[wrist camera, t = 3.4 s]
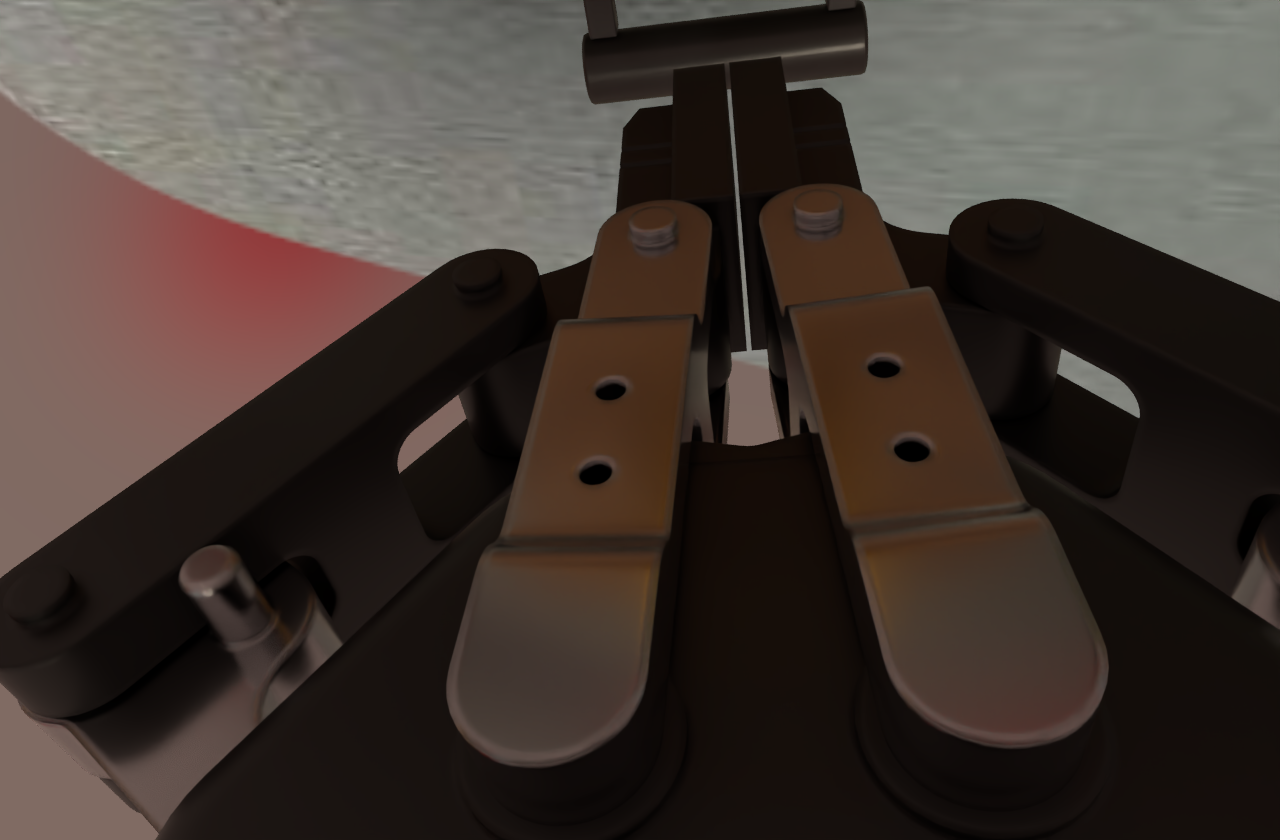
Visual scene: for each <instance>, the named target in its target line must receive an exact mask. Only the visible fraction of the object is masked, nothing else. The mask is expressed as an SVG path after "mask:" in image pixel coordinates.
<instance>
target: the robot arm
mask: <svg viewBox="0 0 1280 840" xmlns="http://www.w3.org/2000/svg"><path fill="white" fill-rule="evenodd" d="M729 67H730V80H731V93H732V106H733V119H734V132H735V145H736V158H737V171H738V184H739V197H740V209H741V222H742V234H743V247H744V259H745V271H746V284H747V296H748V309H749V321H750V334H751V346H752V350H761V349H767V352H768V362H769V376H770V390H771V399H772V403H773V408H774V413H775V418H776V423H777V427H778V432H779V437H780V439H779V440H775V441H772V442H768V443H764V444H760V445H755V446H738V445H728V444H727V436H728V420H729V403H730V396H729V385H728V378H729V375H730V372H731V367H732V362H731V352H741V351H747V348H746V334H745V320H744V306H743V292H742V278H741V264H740V250H739V236H738V223H737V209H736V195H735V183H734V170H733V158H732V146H731V134H730V122H729V110H728V98H727V87H726V75H725V64H724V63H721V64H712V65H704V66H696V67H687V68H679V69H673V105H667V106H658V107H649V108H641V109H639V110H638V111H637V112H636V114H635V115H634V116H633V117H632V118H631V120H630V121H629V122H628V123H627V124H626V126H625V127H624V128H623V138H622V152H621V161H620V167H621V169H620V172H619V184H618V195H617V207H616V213H615V214H614V215H613V216H611V217H610V218H609V219H608V220H607V221H606V222H605V223H604V224H603V225H602V227H601V228H600V230H599V233H598V236H597V240H596V244H595V248H594V253H593V255H592V256H590V257H589V258H587V259H585V260H583V261H581V262H579V263H577V264H574V265H572V266H569V267H566V268H563V269H560V270H556V271H553V272H550V273H546V274H543V275H540V276H539V272H538V269H537V266H536V264H535V263H534V261H533V260H532V259H531V258H529V257H528V256H526V255H524V254H522V253H520V252H517V251H514V250H507V249H486V250H480V251H475V252H472V253H468V254H465V255H462V256H459V257H457V258H455V259H453V260H451V261H449V262H447V263H446V264H444V265H442V266H441V267H439V268H438V269H437V270H435V271H434V272H432V273H431V274H429V275H428V276H427V277H425V278H424V279H422V280H421V281H420V282H418V283H417V284H415V285H414V286H413V287H411V288H410V289H408V290H407V291H405V292H404V293H403V294H401V295H400V296H398V297H397V298H395V299H394V300H393V301H391V302H390V303H389V304H387V305H386V306H384V307H383V308H381V309H380V310H379V311H377V312H376V313H374V314H373V315H371V316H370V317H369V318H367V319H366V320H364V321H363V322H361V323H360V324H359V325H357V326H356V327H354V328H353V329H352V330H350V331H349V332H347V333H346V334H345V335H343V336H342V337H340V338H339V339H338V340H336V341H335V342H333V343H332V344H330V345H329V346H327V347H326V348H325V349H323V350H322V351H320V352H319V353H318V354H316V355H315V356H313V357H312V358H310V359H309V360H308V361H306V362H305V363H303V364H302V365H301V366H299V367H298V368H296V369H295V370H294V371H292V372H291V373H289V374H288V375H286V376H285V377H284V378H282V379H281V380H279V381H278V382H276V383H275V384H274V385H272V386H271V387H269V388H268V389H267V390H265V391H264V392H262V393H261V394H259V395H258V396H257V397H255V398H254V399H252V400H251V401H250V402H248V403H247V404H245V405H244V406H242V407H241V408H240V409H238V410H237V411H235V412H234V413H233V414H231V415H230V416H228V417H227V418H225V419H224V420H223V421H221V422H220V423H218V424H217V425H216V426H214V427H213V428H211V429H210V430H208V431H207V432H206V433H204V434H203V435H201V436H200V437H198V438H197V439H196V440H194V441H193V442H191V443H190V444H189V445H187V446H186V447H184V448H183V449H182V450H180V451H179V452H177V453H176V454H175V455H173V456H172V457H170V458H169V459H167V460H166V461H164V462H163V463H162V464H160V465H159V466H158V467H156V468H155V469H153V470H152V471H150V472H149V473H147V474H146V475H145V476H143V477H142V478H141V479H139V480H138V481H136V482H135V483H133V484H132V485H130V486H129V487H128V488H126V489H125V490H123V491H122V492H121V493H119V494H118V495H116V496H115V497H113V498H112V499H111V500H110V501H108V502H107V503H105V504H104V505H102V506H101V507H99V508H98V509H96V510H95V511H94V512H92V513H91V514H89V515H88V516H87V517H85V518H84V519H82V520H81V521H79V522H78V523H77V524H75V525H74V526H72V527H71V528H70V529H68V530H67V531H65V532H64V533H63V534H61V535H60V536H58V537H57V538H55V539H54V540H53V541H51V542H50V543H48V544H47V545H45V546H44V547H43V548H41V549H40V550H39V551H37V552H36V553H34V554H33V555H31V556H30V557H29V558H27V559H26V560H24V561H23V562H21V563H20V564H19V565H17V566H16V567H14V568H13V569H12V570H11V571H9V572H8V573H6V574H5V575H4V576H3V577H2V578H0V683H1V684H2V685H3V686H4V687H5V688H6V689H7V690H9V692H11V693H12V694H13V695H14V696H15V697H16V698H17V699H18V702H19V705H20V707H21V709H22V710H23V711H24V712H25V714H26V715H27V716H28V717H29V718H31V719H32V720H33V721H34V722H35V723H36V724H37V725H38V726H39V727H40V728H41V729H42V730H43V731H44V732H45V733H46V734H47V735H48V736H49V737H50V738H52V740H54V741H55V742H56V743H57V744H58V745H59V746H60V747H61V748H62V749H63V750H64V751H65V752H66V753H67V754H68V755H69V756H70V757H71V758H72V759H73V760H74V761H76V762H77V763H78V764H79V765H80V766H81V767H82V768H83V769H84V770H85V771H87V772H88V773H90V774H92V775H94V776H97V777H99V778H100V779H101V780H102V781H103V782H104V783H105V784H106V785H107V786H108V787H109V788H110V789H111V790H112V791H113V792H114V793H115V794H116V795H118V796H119V797H120V798H121V799H122V800H123V801H124V802H125V803H126V804H127V805H128V806H129V807H130V808H132V809H133V810H135V811H136V812H139V813H141V814H142V815H143V816H144V817H145V818H146V819H147V820H148V822H149V823H150V824H151V825H152V826H153V827H154V828H155V830H156V831H157V832H158V833H159V835H158V837H157V838H156V840H1280V302H1279V301H1277V300H1274V299H1272V298H1270V297H1267V296H1265V295H1262V294H1260V293H1258V292H1255V291H1253V290H1251V289H1248V288H1246V287H1244V286H1241V285H1239V284H1237V283H1234V282H1232V281H1229V280H1227V279H1225V278H1222V277H1220V276H1218V275H1215V274H1213V273H1211V272H1208V271H1206V270H1204V269H1201V268H1199V267H1196V266H1194V265H1192V264H1189V263H1187V262H1185V261H1182V260H1180V259H1178V258H1175V257H1173V256H1171V255H1168V254H1166V253H1163V252H1161V251H1159V250H1156V249H1154V248H1152V247H1149V246H1147V245H1145V244H1142V243H1140V242H1138V241H1135V240H1133V239H1130V238H1128V237H1126V236H1123V235H1121V234H1119V233H1116V232H1114V231H1112V230H1109V229H1107V228H1105V227H1102V226H1100V225H1097V224H1095V223H1093V222H1090V221H1088V220H1086V219H1083V218H1081V217H1079V216H1076V215H1074V214H1072V213H1069V212H1067V211H1065V210H1062V209H1060V208H1057V207H1055V206H1052V205H1049V204H1047V203H1043V202H1039V201H1034V200H1027V199H999V200H991V201H987V202H983V203H980V204H977V205H974V206H972V207H970V208H968V209H966V210H964V211H963V212H961V213H960V214H958V215H957V216H956V218H955V219H954V220H953V221H952V223H951V225H950V229H949V235H944V234H933V233H923V232H916V231H911V230H906V229H902V228H899V227H896V226H893V225H891V224H889V223H887V222H885V221H883V219H882V217H881V215H880V212H879V210H878V207H877V205H876V203H875V202H874V200H873V199H872V198H871V197H870V196H868V195H867V194H865V193H864V192H863V191H862V187H861V183H860V179H859V175H858V170H857V166H856V162H855V158H854V154H853V150H852V146H851V143H850V138H849V134H848V129H847V127H846V121H845V117H844V113H843V109H842V105H841V103H840V102H839V101H838V100H836V99H835V98H834V97H833V96H831V95H830V94H829V93H828V92H826V91H825V90H824V89H823V88H813V89H804V90H796V91H787V90H786V84H785V78H784V72H783V66H782V59H781V56H778V57H770V58H761V59H753V60H745V61H736V62H729ZM1061 349H1064V350H1066V351H1068V352H1070V353H1072V354H1074V355H1076V356H1077V357H1079V358H1081V359H1083V360H1085V361H1087V362H1089V363H1091V364H1093V365H1095V366H1096V367H1098V368H1100V369H1102V370H1104V371H1106V372H1108V373H1110V374H1112V375H1113V376H1115V377H1117V378H1118V379H1120V380H1121V381H1122V382H1123V383H1125V384H1126V385H1127V386H1128V387H1129V389H1130V390H1131V391H1132V393H1133V394H1134V396H1135V398H1136V400H1137V402H1138V405H1139V409H1140V418H1137V417H1135V416H1134V415H1132V414H1130V413H1128V412H1126V411H1124V410H1123V409H1121V408H1119V407H1117V406H1115V405H1114V404H1112V403H1110V402H1108V401H1106V400H1104V399H1103V398H1101V397H1099V396H1097V395H1095V394H1093V393H1092V392H1090V391H1088V390H1086V389H1084V388H1082V387H1081V386H1079V385H1077V384H1075V383H1073V382H1072V381H1070V380H1068V379H1066V378H1064V377H1062V376H1061V375H1059V374H1057V370H1058V364H1059V359H1060V354H1061ZM457 395H459V398H460V400H461V403H462V406H463V409H464V412H465V415H466V418H467V419H466V420H464V421H463V422H462V423H461V424H459V425H458V426H457V427H456V428H455V429H453V430H452V431H451V432H450V433H448V434H447V435H446V436H445V437H444V438H442V439H441V440H440V441H439V442H438V443H436V444H435V445H434V446H433V447H431V448H430V449H429V450H428V451H426V452H425V453H424V454H423V455H422V456H420V457H419V458H418V459H417V460H415V461H414V462H413V463H412V464H411V465H409V466H408V467H407V468H406V469H405V470H403V471H402V472H401V473H400V474H399V471H398V466H397V460H398V455H399V451H400V448H401V446H402V444H403V442H404V441H405V439H406V438H407V437H408V435H409V434H410V433H411V432H412V431H413V430H414V429H416V428H417V427H418V426H419V425H421V424H422V423H423V422H424V421H426V420H427V419H428V418H429V417H431V416H432V415H433V414H434V413H436V412H437V411H438V410H439V409H441V408H442V407H443V406H444V405H446V404H447V403H448V402H449V401H451V400H452V399H453V398H454V397H456V396H457Z"/></svg>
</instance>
